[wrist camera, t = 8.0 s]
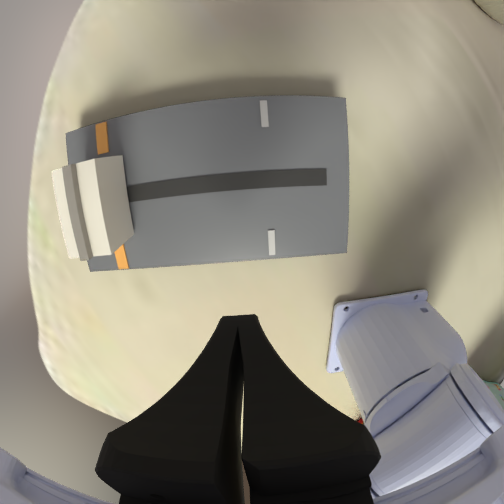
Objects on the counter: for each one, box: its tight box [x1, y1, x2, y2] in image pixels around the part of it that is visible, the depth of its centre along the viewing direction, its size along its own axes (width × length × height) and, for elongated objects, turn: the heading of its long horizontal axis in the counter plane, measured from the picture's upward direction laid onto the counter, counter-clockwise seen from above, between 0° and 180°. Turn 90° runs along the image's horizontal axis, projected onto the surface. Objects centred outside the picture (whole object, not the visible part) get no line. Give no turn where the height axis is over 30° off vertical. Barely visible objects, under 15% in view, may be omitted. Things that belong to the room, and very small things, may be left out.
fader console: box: [66, 95, 349, 272], centre depth 16 cm, size 18×10×2 cm, turn 94°
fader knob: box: [51, 155, 134, 261], centre depth 13 cm, size 3×5×4 cm, turn 4°
